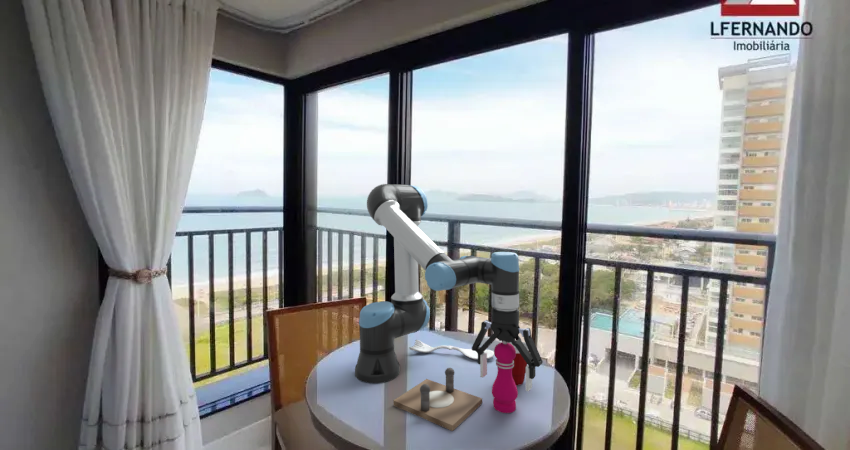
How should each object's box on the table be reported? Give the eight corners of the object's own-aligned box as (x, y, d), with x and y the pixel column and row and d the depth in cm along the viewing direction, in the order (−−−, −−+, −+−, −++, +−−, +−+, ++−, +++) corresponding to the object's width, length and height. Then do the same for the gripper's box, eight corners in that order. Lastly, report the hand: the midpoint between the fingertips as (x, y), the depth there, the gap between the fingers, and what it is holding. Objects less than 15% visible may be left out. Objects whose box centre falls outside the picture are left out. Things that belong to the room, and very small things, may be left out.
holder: (393, 405, 104) (393, 376, 103) (426, 383, 116) (426, 357, 116) (452, 431, 92) (452, 398, 91) (482, 403, 104) (482, 375, 104)
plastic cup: (506, 370, 125) (506, 336, 125) (536, 379, 118) (536, 344, 118) (490, 382, 117) (490, 346, 116) (522, 393, 110) (522, 354, 109)
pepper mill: (518, 415, 98) (519, 343, 97) (491, 412, 100) (491, 341, 99) (517, 401, 105) (517, 334, 104) (491, 399, 107) (492, 332, 106)
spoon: (415, 346, 148) (415, 338, 147) (495, 354, 139) (495, 346, 139) (408, 355, 139) (408, 346, 139) (493, 364, 130) (493, 355, 130)
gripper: (459, 304, 105) (460, 375, 106) (545, 318, 90) (545, 401, 91) (472, 298, 111) (473, 366, 112) (554, 311, 96) (554, 389, 97)
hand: (505, 382), depth 102 cm, fingers open, 13 cm apart
